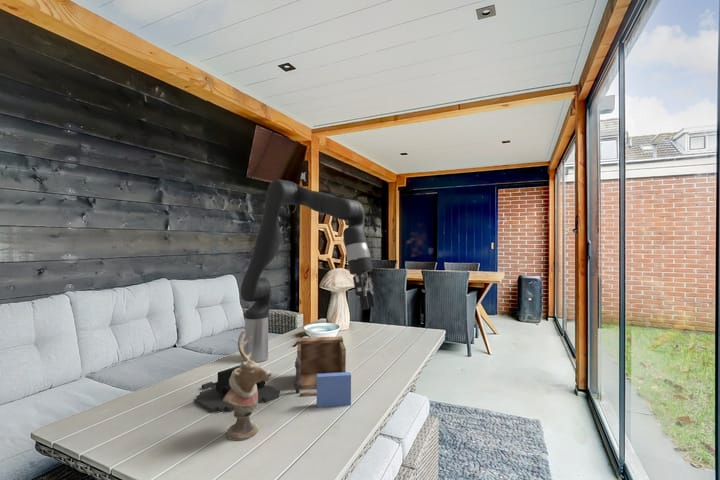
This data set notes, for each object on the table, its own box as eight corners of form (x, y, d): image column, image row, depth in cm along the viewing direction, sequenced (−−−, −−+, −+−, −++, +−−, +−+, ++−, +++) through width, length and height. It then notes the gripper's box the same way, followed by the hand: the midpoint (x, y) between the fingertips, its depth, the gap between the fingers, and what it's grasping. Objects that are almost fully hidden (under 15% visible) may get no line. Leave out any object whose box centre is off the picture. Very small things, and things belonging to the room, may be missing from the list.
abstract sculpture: (181, 367, 110) (237, 352, 126) (181, 396, 110) (237, 377, 126) (225, 388, 95) (283, 367, 111) (225, 422, 95) (283, 396, 111)
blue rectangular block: (316, 407, 103) (317, 376, 103) (316, 404, 105) (316, 373, 105) (350, 405, 104) (351, 375, 104) (349, 401, 107) (349, 372, 107)
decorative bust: (279, 436, 85) (265, 332, 87) (224, 450, 82) (210, 342, 84) (279, 418, 96) (267, 326, 97) (230, 430, 93) (218, 335, 94)
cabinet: (294, 396, 110) (294, 353, 110) (295, 375, 127) (296, 338, 127) (347, 393, 112) (347, 351, 112) (341, 373, 130) (341, 336, 130)
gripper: (353, 261, 122) (363, 308, 120) (341, 259, 109) (351, 312, 106) (374, 256, 120) (384, 304, 118) (364, 254, 107) (375, 307, 104)
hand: (368, 308), depth 112 cm, fingers open, 8 cm apart
